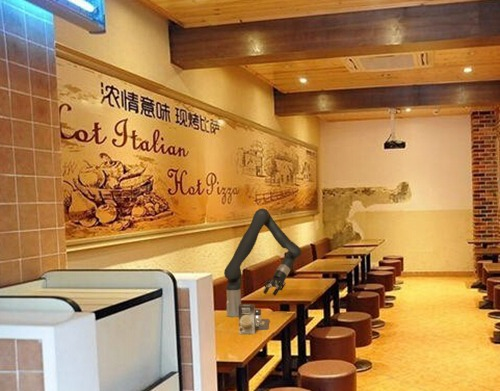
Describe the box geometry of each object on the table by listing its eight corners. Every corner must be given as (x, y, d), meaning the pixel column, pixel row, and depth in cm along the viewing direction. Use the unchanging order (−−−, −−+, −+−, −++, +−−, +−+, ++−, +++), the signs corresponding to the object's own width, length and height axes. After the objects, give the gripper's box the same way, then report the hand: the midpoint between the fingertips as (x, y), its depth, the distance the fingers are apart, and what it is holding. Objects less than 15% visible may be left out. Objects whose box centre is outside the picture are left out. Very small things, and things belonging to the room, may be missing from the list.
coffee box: (238, 334, 331) (237, 306, 331) (240, 331, 337) (238, 304, 337) (254, 334, 330) (253, 305, 330) (255, 331, 336) (254, 303, 336)
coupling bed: (245, 330, 340) (245, 324, 340) (248, 320, 364) (248, 315, 364) (267, 329, 340) (267, 323, 340) (269, 320, 363) (269, 315, 363)
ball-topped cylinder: (254, 323, 350) (253, 310, 350) (254, 322, 354) (253, 309, 354) (261, 323, 350) (261, 310, 350) (261, 321, 354) (260, 308, 354)
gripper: (270, 268, 370) (258, 289, 362) (286, 270, 359) (273, 291, 351) (277, 275, 373) (264, 296, 366) (293, 277, 362) (280, 299, 355)
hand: (269, 294), depth 358 cm, fingers open, 8 cm apart
